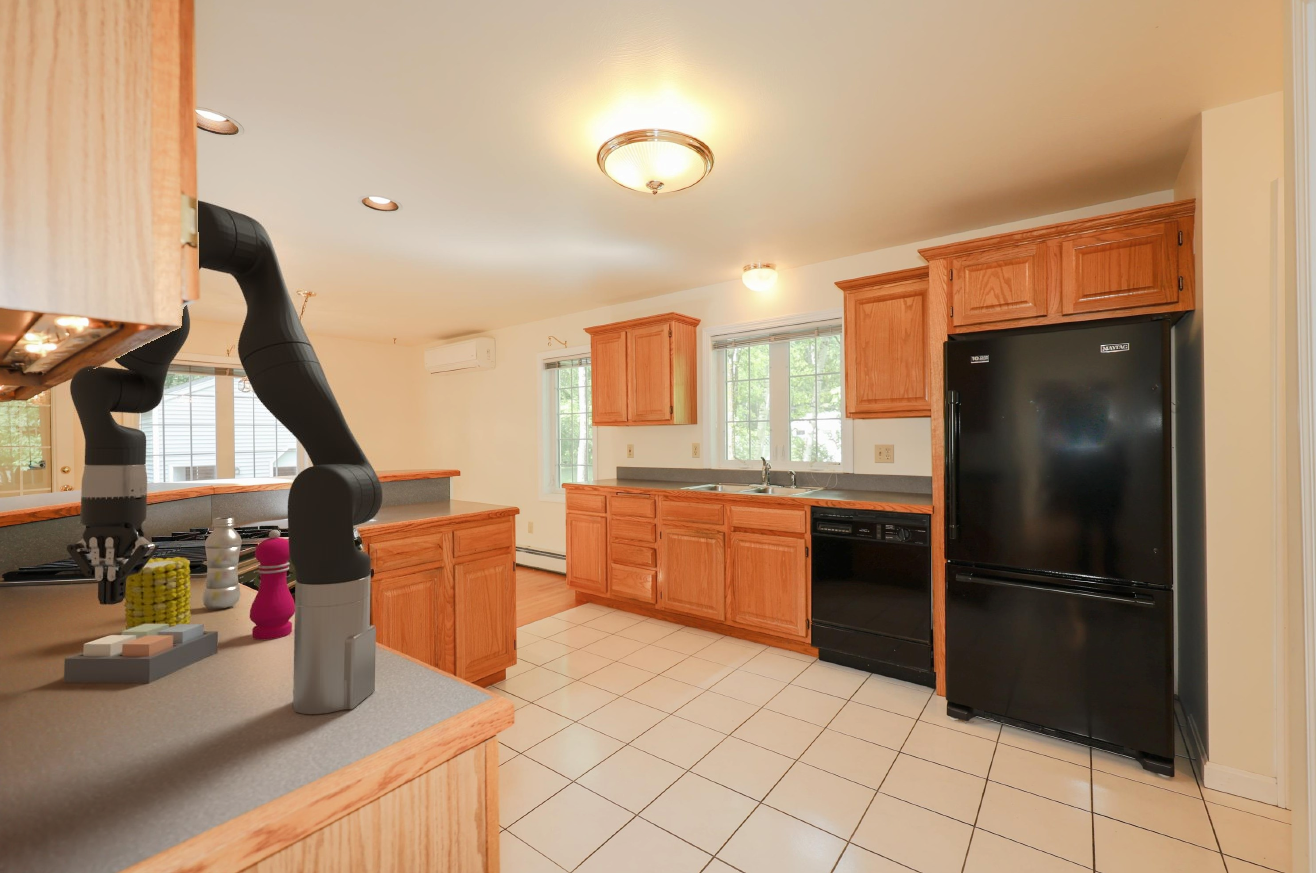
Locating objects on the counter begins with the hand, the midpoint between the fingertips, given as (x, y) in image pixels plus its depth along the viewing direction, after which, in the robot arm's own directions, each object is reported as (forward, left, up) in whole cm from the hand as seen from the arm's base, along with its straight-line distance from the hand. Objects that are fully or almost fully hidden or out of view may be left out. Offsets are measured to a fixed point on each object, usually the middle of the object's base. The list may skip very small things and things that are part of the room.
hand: (111, 603), depth 89 cm
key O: (-6, -6, -9) cm, 12 cm away
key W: (0, -6, -9) cm, 11 cm away
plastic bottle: (+11, -37, -11) cm, 40 cm away
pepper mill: (-13, -19, -11) cm, 25 cm away
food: (+10, -20, -11) cm, 25 cm away
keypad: (-3, -3, -11) cm, 12 cm away
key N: (0, 0, -9) cm, 9 cm away
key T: (-6, 0, -9) cm, 11 cm away
